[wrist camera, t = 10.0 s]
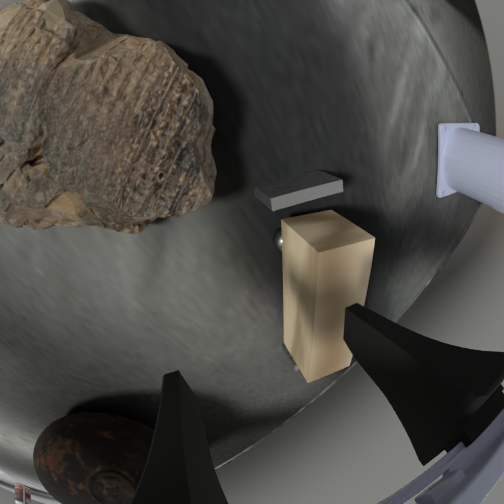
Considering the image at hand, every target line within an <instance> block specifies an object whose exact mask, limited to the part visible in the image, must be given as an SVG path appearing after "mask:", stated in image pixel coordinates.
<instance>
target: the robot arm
mask: <svg viewBox="0 0 504 504" xmlns="http://www.w3.org/2000/svg"><path fill="white" fill-rule="evenodd" d="M455 192H460V193H462V194H465V195H467V196H469V197H471V198H473V199H475V200H477V201H480V202H482V203H484V204H486V205H488V206H490V207H492V208H494V209H496V210H498V211H499V212H502V213H503V214H504V139H501V138H498V137H495V136H492V135H488V134H485V133H481V132H479V124H478V123H440V124H439V125H438V173H437V190H436V195H437V197H439V198H441V197H444V196H447V195H450V194H452V193H455ZM343 340H344V341H345V343H346V345H347V346H348V348H349V350H350V351H351V353H352V355H353V356H354V358H355V359H356V360H357V361H358V363H359V364H360V365H361V366H362V368H363V369H364V370H365V371H366V373H367V374H368V375H369V376H370V377H371V378H372V380H373V381H374V382H375V384H376V385H377V386H378V387H379V388H380V390H381V391H382V392H383V394H384V395H385V396H386V398H387V399H388V401H389V403H390V404H391V406H392V407H393V409H394V411H395V412H396V414H397V416H398V417H399V419H400V421H401V423H402V425H403V427H404V428H405V430H406V432H407V434H408V436H409V438H410V440H411V442H412V445H413V447H414V449H415V451H416V454H417V456H418V459H419V461H420V462H421V463H422V465H423V466H424V465H426V464H427V463H428V462H430V461H431V460H432V459H433V458H435V457H436V456H437V455H439V454H440V453H441V452H442V451H443V450H445V451H446V452H447V454H446V455H445V456H444V457H442V458H441V459H440V460H439V461H438V462H437V463H435V464H434V465H433V466H431V467H430V468H429V469H428V470H426V471H425V472H424V473H423V474H421V475H420V476H418V477H417V478H416V479H414V480H413V481H412V482H410V483H409V484H407V485H406V486H404V487H403V488H401V489H400V490H398V491H397V492H395V493H394V494H392V495H391V496H389V497H388V498H386V499H384V500H383V501H381V502H379V503H378V504H403V503H404V502H406V501H407V500H409V499H410V498H411V497H413V496H414V495H416V494H417V493H419V492H420V491H421V490H423V489H424V488H425V487H426V486H428V485H429V484H431V483H432V482H433V481H434V480H436V479H437V478H438V477H439V476H440V475H442V474H443V477H442V478H441V479H440V480H438V481H437V482H435V483H434V484H432V485H431V486H429V487H428V488H427V489H425V490H424V491H423V492H422V493H421V494H419V495H418V496H417V497H416V498H415V501H416V504H481V503H482V502H483V500H484V499H485V498H486V497H487V495H488V494H489V493H490V491H491V490H492V489H493V488H494V486H495V485H496V484H497V482H498V481H499V479H500V478H501V477H502V475H503V473H504V393H503V392H502V391H503V389H504V387H503V386H502V385H501V383H502V381H503V380H504V352H493V351H480V350H473V349H467V348H462V347H458V346H454V345H450V344H446V343H443V342H440V341H437V340H434V339H431V338H428V337H425V336H423V335H420V334H418V333H416V332H413V331H411V330H409V329H407V328H405V327H402V326H400V325H398V324H396V323H394V322H392V321H390V320H389V319H387V318H385V317H383V316H381V315H379V314H377V313H375V312H373V311H372V310H370V309H368V308H366V307H364V306H362V305H360V304H359V303H355V304H353V305H350V306H348V307H346V308H345V319H344V334H343ZM130 504H228V502H227V500H226V497H225V495H224V493H223V490H222V488H221V485H220V483H219V480H218V478H217V475H216V472H215V469H214V466H213V463H212V459H211V454H210V450H209V446H208V441H207V437H206V432H205V427H204V423H203V418H202V415H201V412H200V408H199V405H198V402H197V399H196V396H195V395H194V393H193V392H192V390H191V389H190V387H189V386H188V384H187V383H186V381H185V380H184V378H183V376H182V375H181V373H180V372H179V370H178V371H175V372H172V373H168V374H165V375H164V376H163V383H162V391H161V398H160V405H159V410H158V416H157V421H156V427H155V431H154V435H153V440H152V444H151V448H150V452H149V455H148V458H147V462H146V465H145V468H144V471H143V474H142V476H141V479H140V482H139V484H138V487H137V489H136V491H135V494H134V496H133V498H132V500H131V502H130Z"/></svg>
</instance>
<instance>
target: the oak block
mask: <svg viewBox="0 0 504 504" xmlns="http://www.w3.org/2000/svg"><path fill="white" fill-rule="evenodd" d="M281 227H282V258H283V302H284V344H285V345H286V347H287V349H288V350H289V352H290V354H291V356H292V357H293V359H294V361H295V362H296V364H297V366H298V367H299V369H300V371H301V372H302V374H303V376H304V377H305V379H306V381H307V382H308V383H309V382H312V381H314V380H317V379H319V378H322V377H324V376H326V375H329V374H331V373H333V372H336V371H338V370H340V369H343V368H345V367H347V366H349V365H350V362H351V358H352V353H351V351H350V350H349V348H348V346H347V345H346V343H345V341H344V340H343V334H344V319H345V308H346V307H348V306H350V305H353V304H355V303H359V304H360V305H362V306H364V303H365V298H366V293H367V288H368V282H369V276H370V271H371V264H372V258H373V251H374V244H375V237H373V236H372V235H370V234H369V233H367V232H366V231H364V230H363V229H361V228H360V227H358V226H356V225H355V224H353V223H352V222H350V221H349V220H347V219H346V218H344V217H342V216H341V215H339V214H338V213H336V212H334V211H333V210H327V211H322V212H316V213H311V214H306V215H301V216H295V217H290V218H285V219H281Z"/></svg>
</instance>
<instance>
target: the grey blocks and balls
mask: <svg viewBox="0 0 504 504" xmlns="http://www.w3.org/2000/svg"><path fill="white" fill-rule="evenodd" d="M254 190H255V195H256V198H258V199H259V200H260V201H261V202H262V203H264V204H265V205H266V206H267V207H268V208H269V209H271V210H272V211H275V210H279V209H282V208H285V207H289V206H292V205H296V204H299V203H303V202H306V201H310V200H313V199H317V198H321V197H324V196H328V195H332V194H335V193H339V192H343V180H342V179H340V178H337V177H335V176H333V175H330V174H328V173H325V172H323V171H320V170H316V171H311V172H307V173H303V174H299V175H295V176H290V177H286V178H282V179H278V180H275V181H271V182H267V183H263V184H259V185H256V186H254ZM273 241H274V243H275V245H276V246H277V247H278V248H279V249H280V250H281V251H282V227H281V228H279V229H277V230H276V232H275V233H274V235H273ZM282 348H283V351H284V353H285V354H286V356H287V358H288V360H289V361H290V363H291V365H292V367H293V368H294V370H295V371H296V370H299V367H298V366H297V364H296V362H295V361H294V359H293V357H292V356H291V354H290V352H289V350H288V349H287V347H286V345H285V344H283V345H282Z"/></svg>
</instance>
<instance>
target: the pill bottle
mask: <svg viewBox="0 0 504 504" xmlns="http://www.w3.org/2000/svg"><path fill="white" fill-rule="evenodd" d="M15 501H16V503H17V504H31V496H30V488H28V487H26V486H24V485H21V484H18V483H16V484H15Z"/></svg>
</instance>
